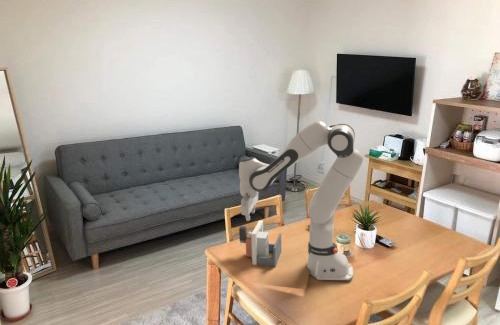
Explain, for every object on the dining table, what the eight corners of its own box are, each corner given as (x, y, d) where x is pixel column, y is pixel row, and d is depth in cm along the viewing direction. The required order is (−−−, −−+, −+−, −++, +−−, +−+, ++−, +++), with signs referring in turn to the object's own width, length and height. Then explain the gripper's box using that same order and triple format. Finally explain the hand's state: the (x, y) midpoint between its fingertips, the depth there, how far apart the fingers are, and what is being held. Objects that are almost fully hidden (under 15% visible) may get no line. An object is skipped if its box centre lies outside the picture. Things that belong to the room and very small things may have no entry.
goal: (281, 251, 201) (281, 222, 197) (275, 267, 186) (275, 235, 182) (260, 249, 204) (259, 220, 200) (252, 264, 189) (251, 233, 185)
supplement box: (265, 261, 191) (265, 238, 188) (251, 260, 193) (250, 237, 190) (269, 254, 198) (268, 232, 195) (255, 252, 200) (254, 230, 197)
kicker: (254, 252, 199) (254, 226, 195) (252, 256, 194) (251, 230, 190) (242, 250, 201) (241, 225, 197) (239, 255, 196) (238, 229, 192)
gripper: (249, 197, 177) (251, 225, 181) (260, 183, 196) (261, 209, 200) (236, 197, 179) (238, 224, 182) (248, 183, 198) (249, 208, 201)
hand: (250, 216), depth 191 cm, fingers open, 8 cm apart
